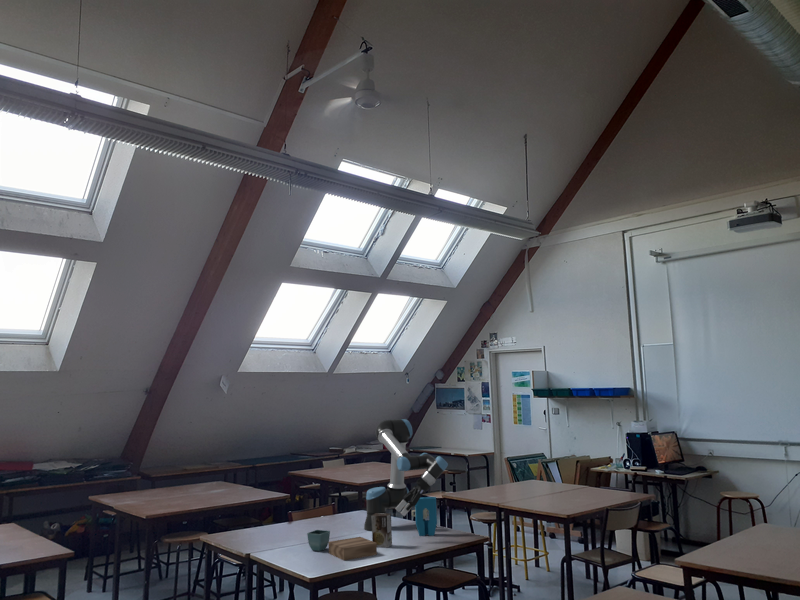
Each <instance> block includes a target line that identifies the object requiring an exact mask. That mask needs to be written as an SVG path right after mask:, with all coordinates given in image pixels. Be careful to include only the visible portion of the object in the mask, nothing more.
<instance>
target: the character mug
mask: <svg viewBox="0 0 800 600" xmlns="http://www.w3.org/2000/svg"><path fill="white" fill-rule="evenodd" d="M411 516H412V517H415V509H414V510H411ZM428 517H429V511H428V510H427V509H426V508H425V509H424V510H423V520H427V518H428ZM415 526H416V525H415ZM415 529H416V530H417V526H416V527H415Z"/></svg>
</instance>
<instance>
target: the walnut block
mask: <svg viewBox="0 0 800 600" xmlns="http://www.w3.org/2000/svg"><path fill="white" fill-rule="evenodd" d="M377 548H378V547H377V543H376V542H373V541H372V540H370V539H369V538H365V537H361V536H357V537H351V538H343V539H338V540H337V539H336V540H332V541H331V540H329V543H328V554H329V555H331V556H334V557H336V558H338V559H340V560H341V561H344V562H345V561H349V560H355V559H360V558H365V557H366V558H367V557H371V556H377V555H378V551H377Z"/></svg>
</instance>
